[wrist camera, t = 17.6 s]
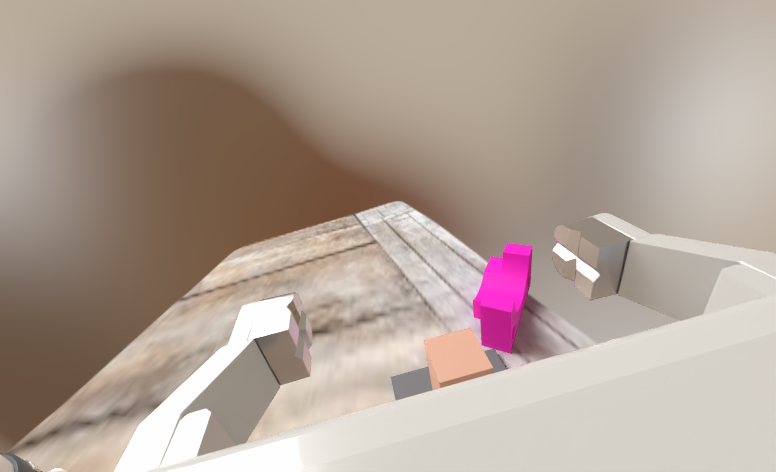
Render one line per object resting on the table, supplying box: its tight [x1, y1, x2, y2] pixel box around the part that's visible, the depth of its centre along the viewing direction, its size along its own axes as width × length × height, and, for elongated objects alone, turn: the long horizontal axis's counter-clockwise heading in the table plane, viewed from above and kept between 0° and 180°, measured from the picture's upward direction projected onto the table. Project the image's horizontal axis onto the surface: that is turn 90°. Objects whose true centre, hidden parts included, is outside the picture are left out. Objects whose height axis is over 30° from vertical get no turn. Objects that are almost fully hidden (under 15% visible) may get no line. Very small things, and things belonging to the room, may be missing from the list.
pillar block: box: [424, 328, 493, 390], centre depth 32 cm, size 5×5×10 cm
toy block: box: [473, 243, 532, 353], centre depth 46 cm, size 15×6×8 cm, turn 149°
